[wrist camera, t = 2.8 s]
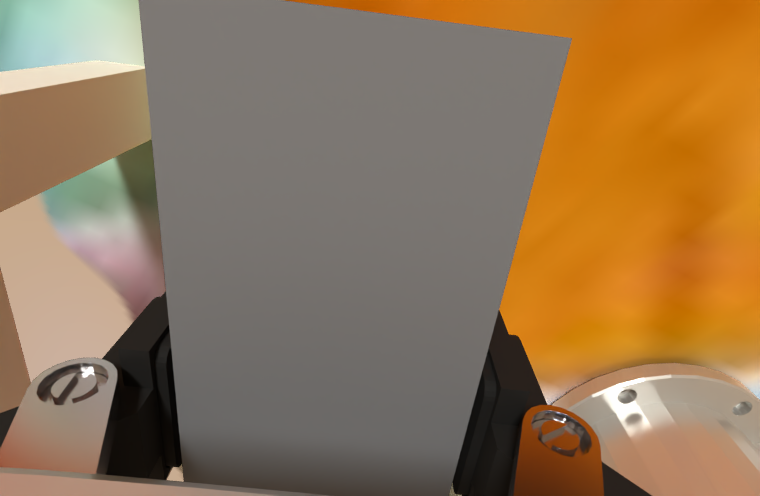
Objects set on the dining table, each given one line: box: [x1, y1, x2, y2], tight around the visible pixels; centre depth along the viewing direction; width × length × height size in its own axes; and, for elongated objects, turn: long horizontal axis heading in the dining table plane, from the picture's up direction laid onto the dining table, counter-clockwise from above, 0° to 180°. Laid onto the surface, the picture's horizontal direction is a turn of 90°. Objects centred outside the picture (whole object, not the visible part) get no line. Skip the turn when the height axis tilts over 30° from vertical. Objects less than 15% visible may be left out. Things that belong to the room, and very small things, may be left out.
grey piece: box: [139, 0, 572, 496], centre depth 14 cm, size 14×5×12 cm, turn 173°
